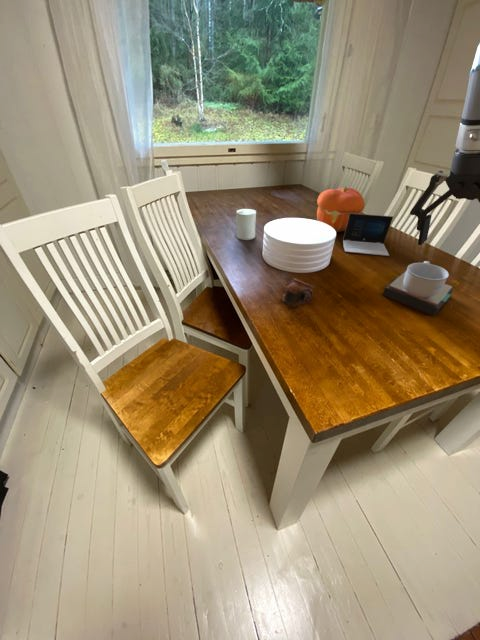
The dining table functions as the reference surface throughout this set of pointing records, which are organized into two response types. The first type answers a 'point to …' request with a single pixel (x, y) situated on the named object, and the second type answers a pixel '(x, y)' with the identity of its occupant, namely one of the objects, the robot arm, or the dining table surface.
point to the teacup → (424, 279)
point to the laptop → (366, 234)
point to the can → (246, 224)
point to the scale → (423, 304)
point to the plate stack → (298, 244)
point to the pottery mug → (293, 290)
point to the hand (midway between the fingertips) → (452, 248)
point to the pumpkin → (338, 207)
